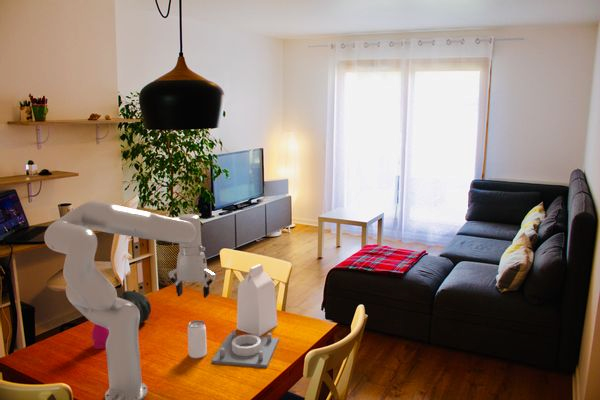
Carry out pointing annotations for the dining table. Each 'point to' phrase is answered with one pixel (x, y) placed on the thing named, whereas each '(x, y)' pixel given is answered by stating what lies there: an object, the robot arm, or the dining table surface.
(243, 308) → the milk
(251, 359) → the carrier plate
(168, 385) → the dining table surface
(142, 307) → the squash
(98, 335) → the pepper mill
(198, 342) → the can
